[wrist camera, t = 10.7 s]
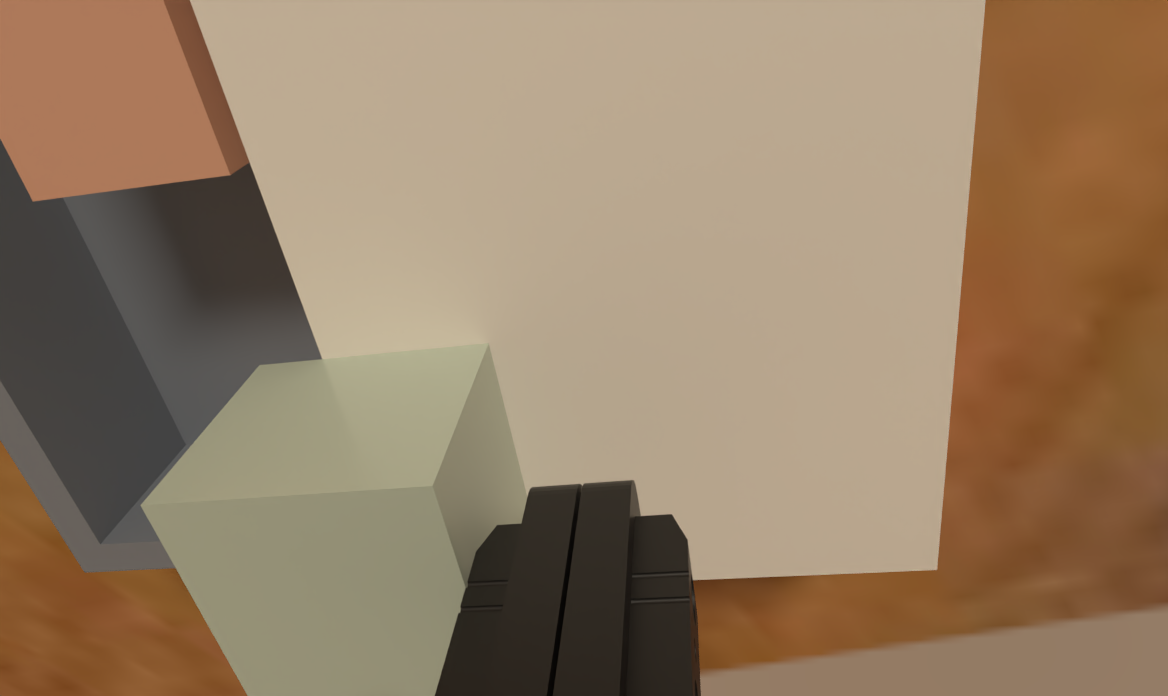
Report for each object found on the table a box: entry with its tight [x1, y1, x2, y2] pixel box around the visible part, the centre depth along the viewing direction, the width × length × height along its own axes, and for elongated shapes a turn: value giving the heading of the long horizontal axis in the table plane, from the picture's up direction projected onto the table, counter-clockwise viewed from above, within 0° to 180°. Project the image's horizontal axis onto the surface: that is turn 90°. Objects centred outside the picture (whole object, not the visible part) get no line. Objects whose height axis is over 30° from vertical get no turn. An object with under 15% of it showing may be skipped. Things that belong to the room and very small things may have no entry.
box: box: [0, 139, 322, 572], centre depth 16 cm, size 8×14×4 cm, turn 9°
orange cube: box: [0, 0, 249, 201], centre depth 13 cm, size 4×4×4 cm
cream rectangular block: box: [190, 0, 985, 580], centre depth 14 cm, size 10×14×5 cm
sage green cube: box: [140, 343, 527, 696], centre depth 13 cm, size 4×4×4 cm
